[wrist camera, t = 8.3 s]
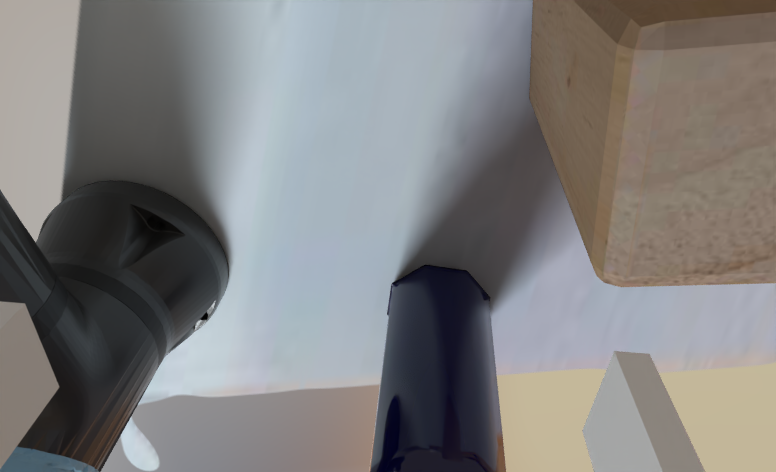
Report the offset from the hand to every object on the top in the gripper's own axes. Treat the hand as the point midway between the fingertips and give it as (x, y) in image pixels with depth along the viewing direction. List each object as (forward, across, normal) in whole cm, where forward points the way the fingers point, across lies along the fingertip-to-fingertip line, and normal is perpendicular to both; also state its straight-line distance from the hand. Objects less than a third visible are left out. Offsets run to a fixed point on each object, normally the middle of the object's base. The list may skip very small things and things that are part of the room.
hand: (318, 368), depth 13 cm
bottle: (+28, +6, -21) cm, 35 cm away
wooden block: (+27, +14, +3) cm, 31 cm away
